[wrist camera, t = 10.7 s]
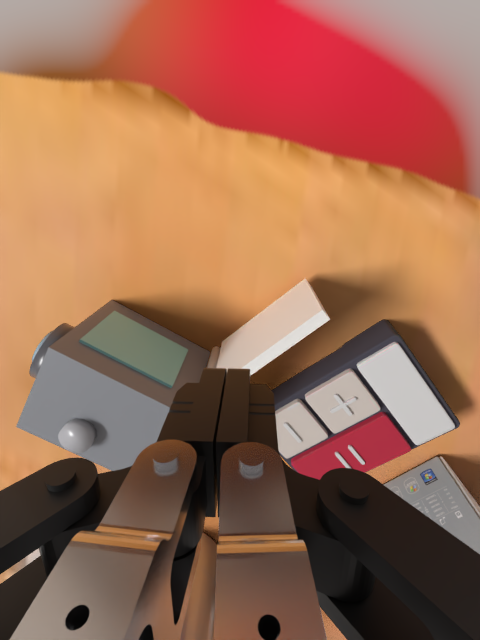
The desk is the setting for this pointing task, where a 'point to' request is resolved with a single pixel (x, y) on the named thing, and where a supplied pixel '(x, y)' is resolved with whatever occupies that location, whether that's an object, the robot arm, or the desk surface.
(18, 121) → the desk surface
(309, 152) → the desk surface
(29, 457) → the desk surface
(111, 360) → the camera body
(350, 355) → the calculator
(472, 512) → the hard drive box
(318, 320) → the side door
